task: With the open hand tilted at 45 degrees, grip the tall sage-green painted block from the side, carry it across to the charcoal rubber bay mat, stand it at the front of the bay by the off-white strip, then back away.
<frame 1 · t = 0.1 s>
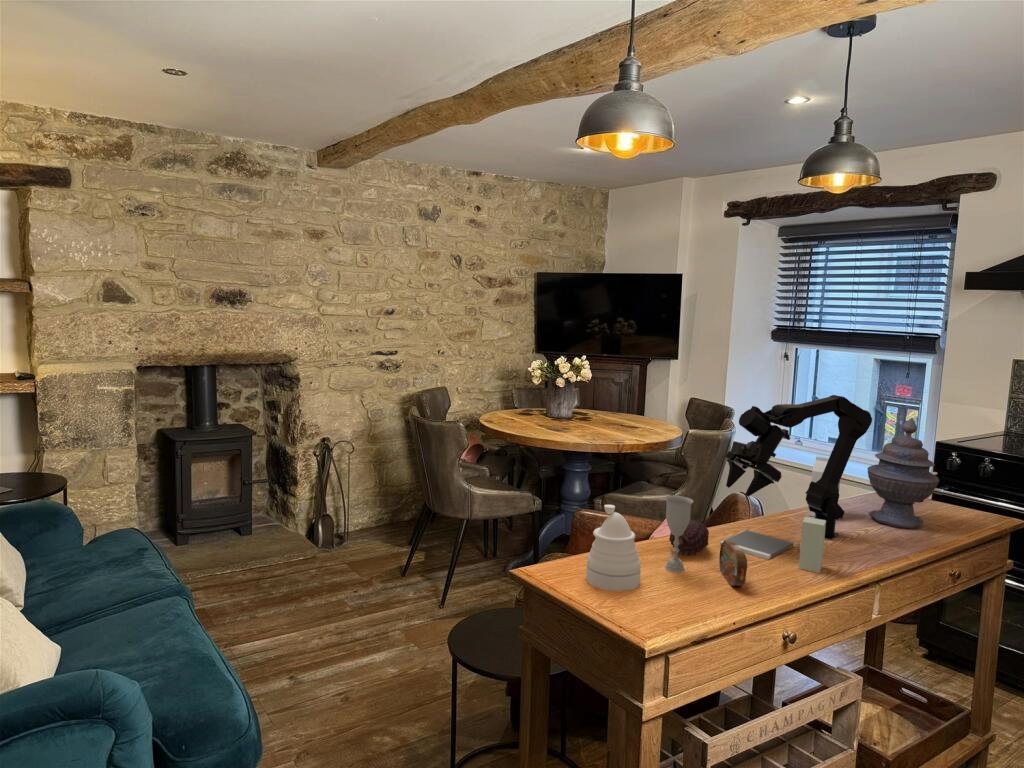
hand: (736, 491, 198), 15 cm above the table, fingers open, 9 cm apart
tin: (731, 580, 173), on the table
honey pot: (612, 581, 170), on the table
decorative urn: (897, 523, 224), on the table
milk carton: (822, 516, 229), on the table
pine cone: (689, 552, 191), on the table
sage block: (810, 567, 182), on the table
chalice: (674, 569, 178), on the table
bay mat: (756, 545, 198), on the table
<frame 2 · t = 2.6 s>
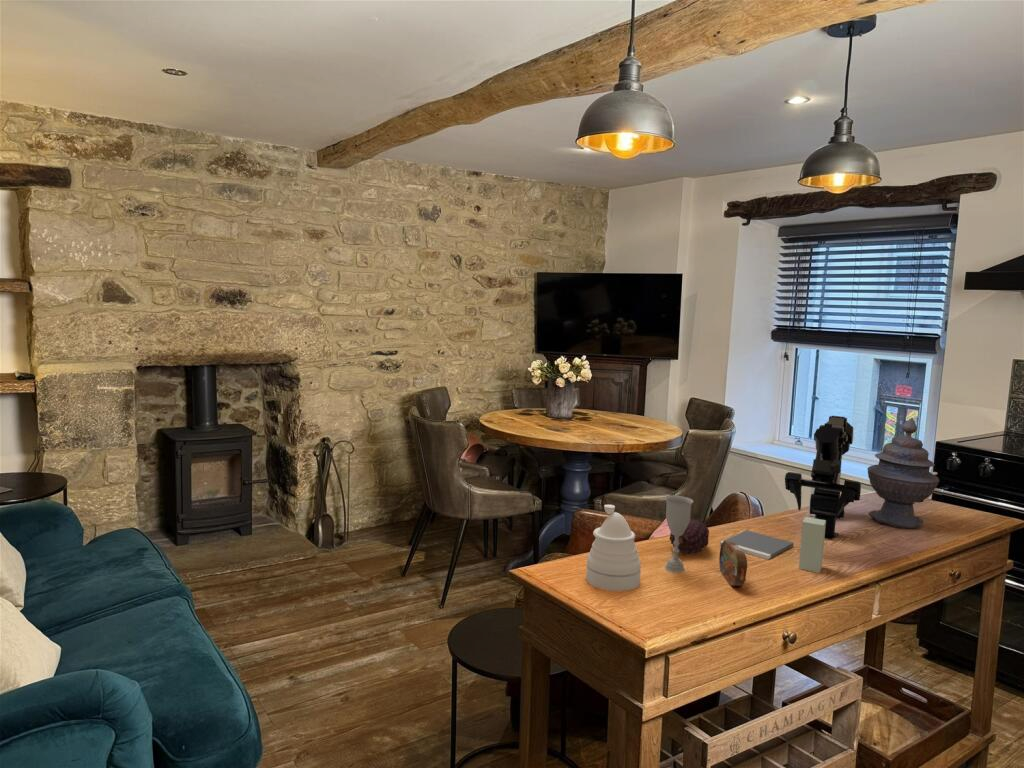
hand: (817, 512, 187), 13 cm above the table, fingers open, 9 cm apart
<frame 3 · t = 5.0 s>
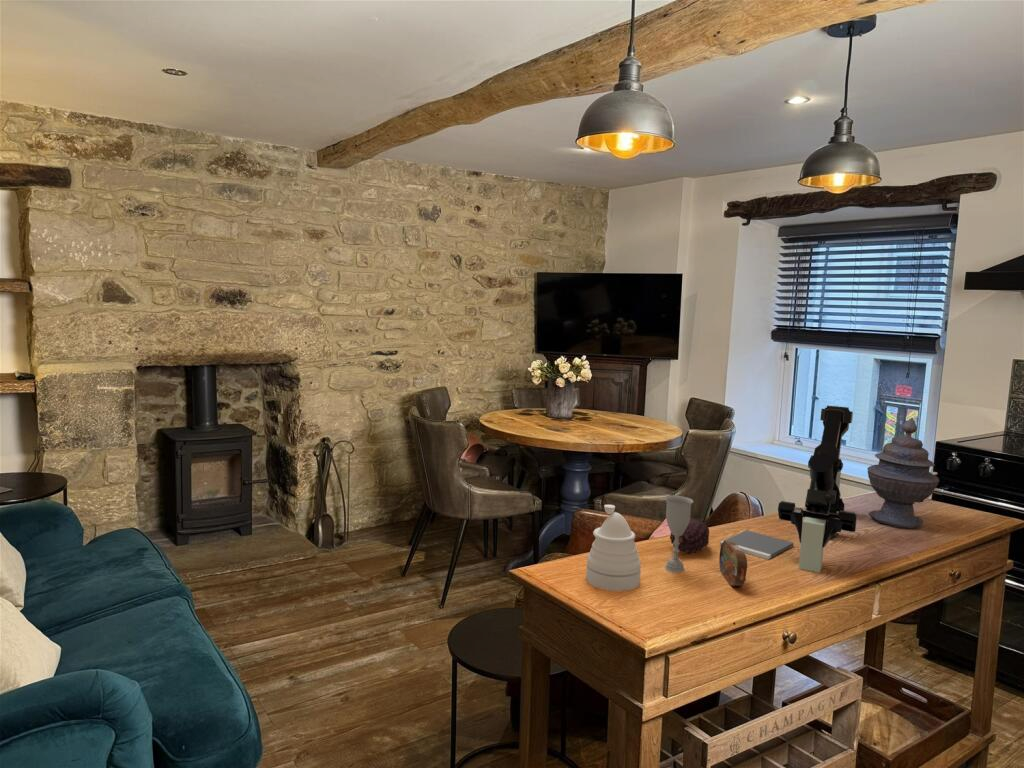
hand: (811, 544, 180), 7 cm above the table, fingers closed on sage block, 5 cm apart
sage block: (810, 567, 182), on the table, touching gripper
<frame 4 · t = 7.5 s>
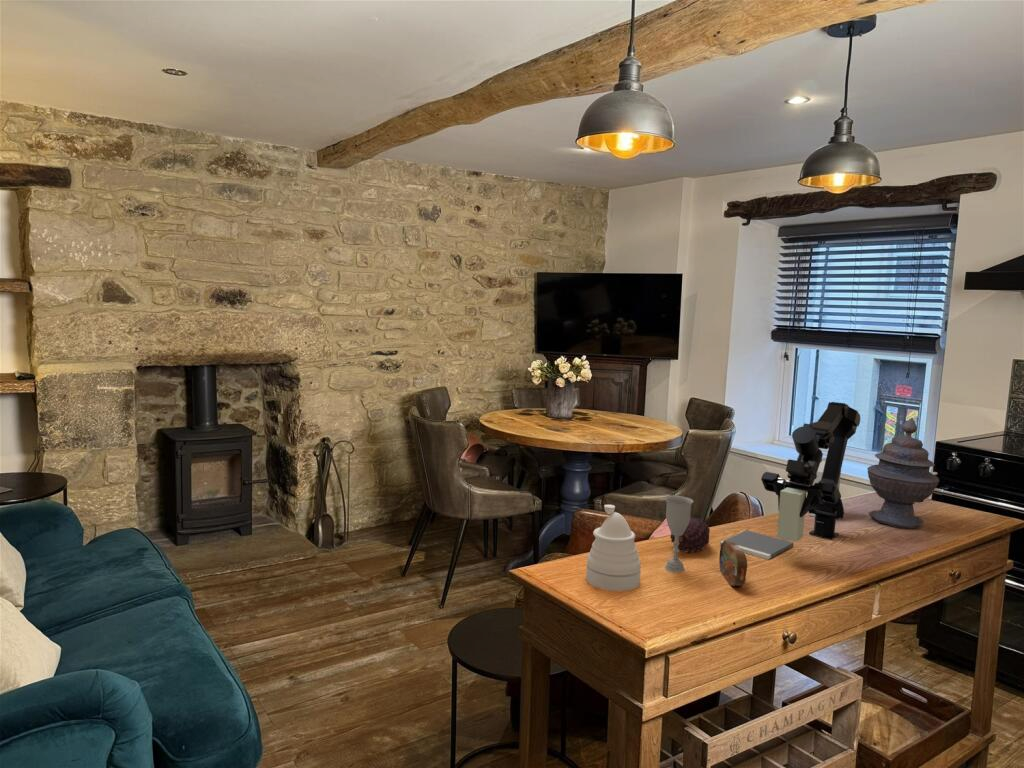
hand: (789, 514, 183), 13 cm above the table, fingers closed on sage block, 5 cm apart
sage block: (789, 537, 185), point 7 cm above the table, touching gripper
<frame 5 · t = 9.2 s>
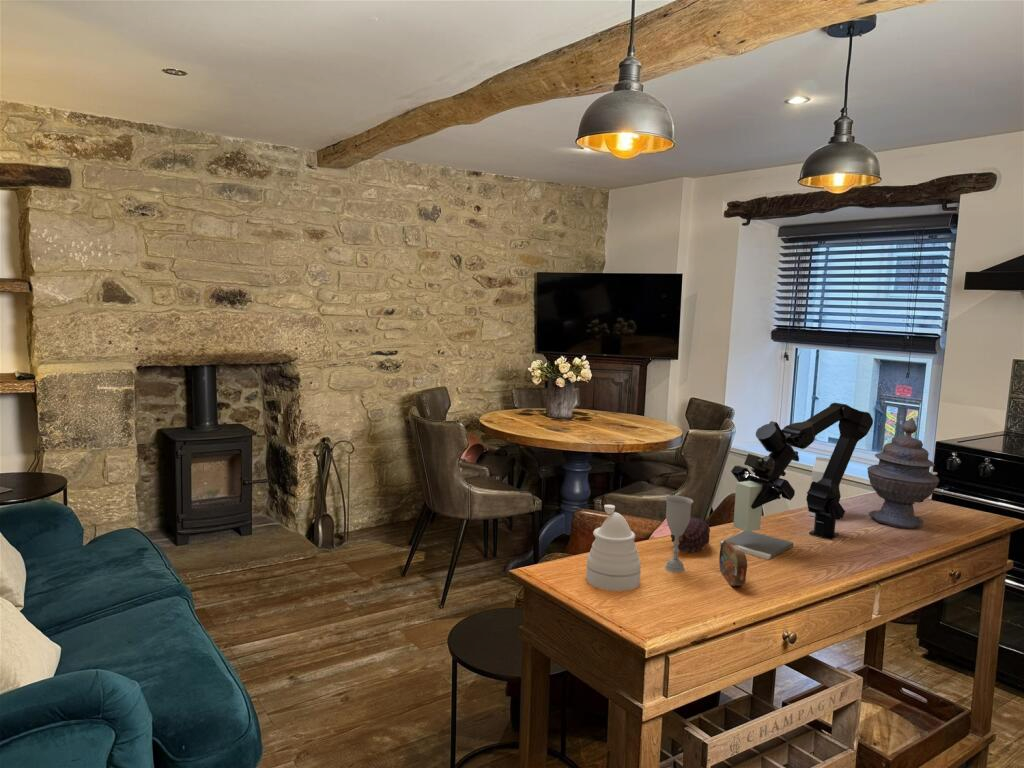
hand: (744, 505, 193), 13 cm above the table, fingers closed on sage block, 5 cm apart
sage block: (746, 528, 194), point 6 cm above the table, touching gripper
when the fingers open (9 cm above the table, at t = 10.3 s): sage block drops 1 cm, resting on bay mat.
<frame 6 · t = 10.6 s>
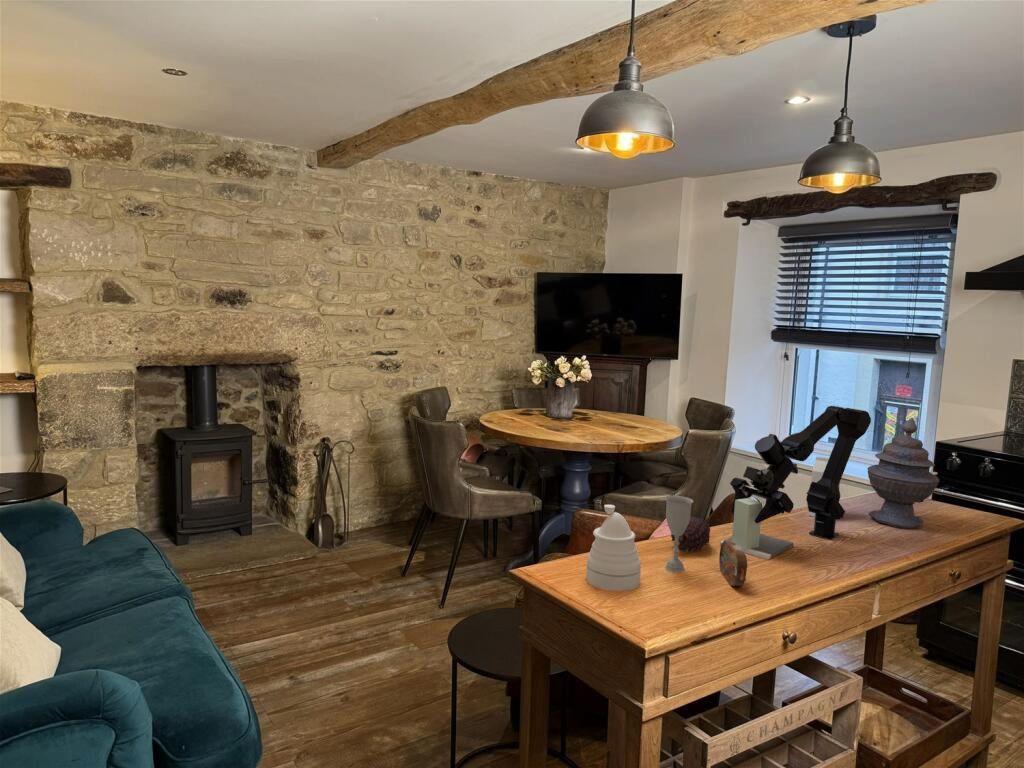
hand: (743, 517, 193), 9 cm above the table, fingers open, 8 cm apart
sage block: (745, 545, 195), point 1 cm above the table, touching bay mat
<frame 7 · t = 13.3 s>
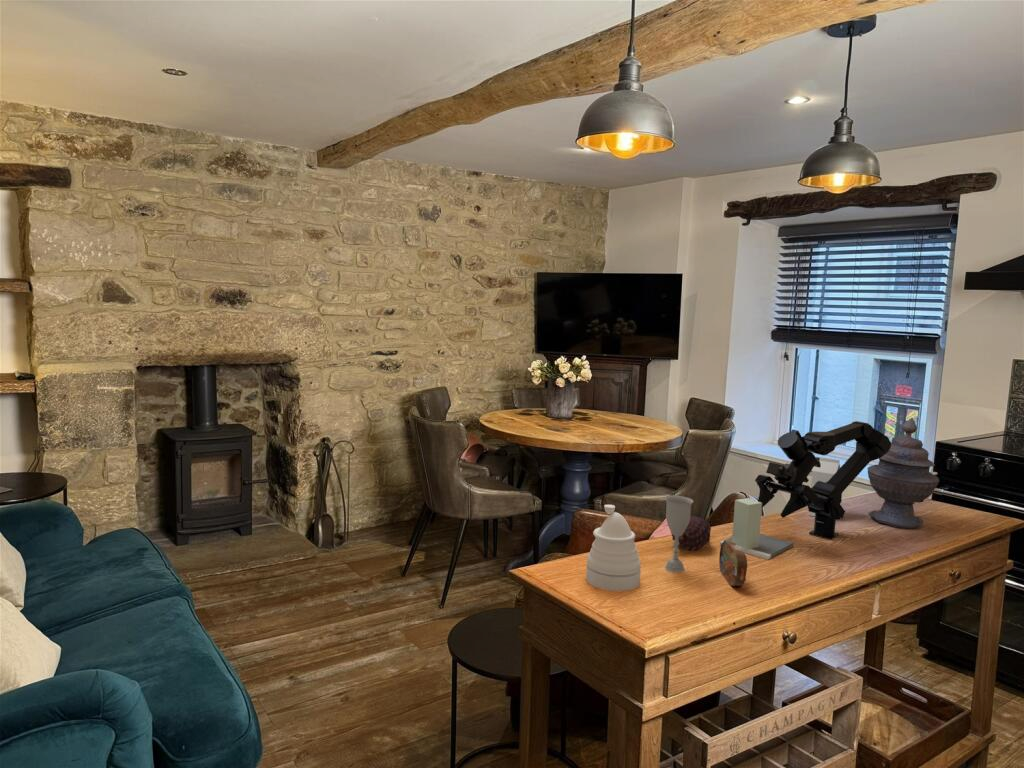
hand: (769, 512, 197), 9 cm above the table, fingers open, 9 cm apart
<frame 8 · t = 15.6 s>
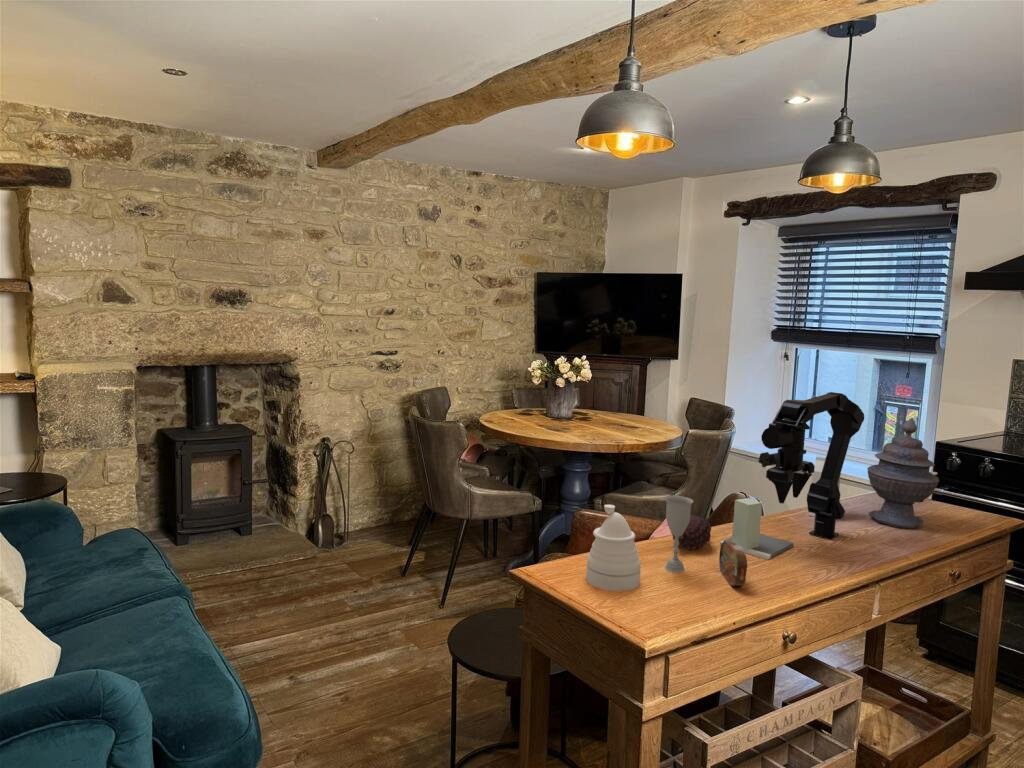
hand: (788, 500, 198), 13 cm above the table, fingers open, 9 cm apart
at the end: sage block inside the target area on the bay mat (0.2 cm from its centre), point 1.0 cm above the bay mat's base; sage block tilted 0°; the gripper is holding nothing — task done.
